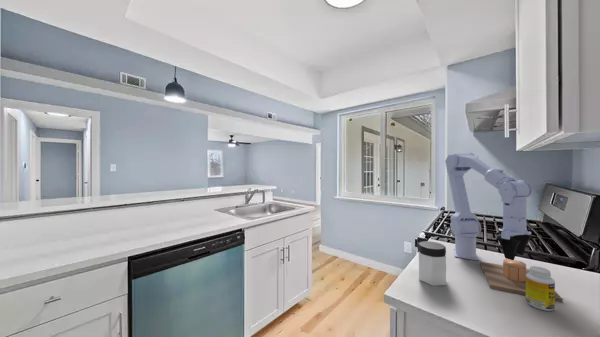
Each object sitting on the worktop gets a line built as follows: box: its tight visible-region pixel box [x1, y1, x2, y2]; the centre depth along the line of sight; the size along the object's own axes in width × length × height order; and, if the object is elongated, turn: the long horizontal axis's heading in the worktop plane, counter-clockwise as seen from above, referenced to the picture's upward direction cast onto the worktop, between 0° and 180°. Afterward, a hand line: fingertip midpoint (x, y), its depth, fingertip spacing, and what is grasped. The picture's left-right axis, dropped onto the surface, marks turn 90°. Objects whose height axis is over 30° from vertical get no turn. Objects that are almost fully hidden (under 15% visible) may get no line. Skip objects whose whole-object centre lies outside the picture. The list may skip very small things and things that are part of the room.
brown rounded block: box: [502, 258, 527, 281], centre depth 78 cm, size 6×6×5 cm
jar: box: [417, 240, 447, 287], centre depth 79 cm, size 9×8×12 cm
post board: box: [479, 261, 564, 303], centre depth 78 cm, size 20×16×4 cm
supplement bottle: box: [525, 265, 556, 312], centre depth 64 cm, size 6×6×10 cm
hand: (514, 256), depth 77 cm, fingers open, 7 cm apart
